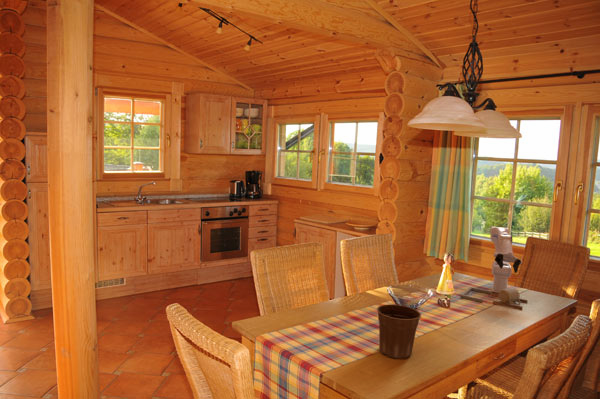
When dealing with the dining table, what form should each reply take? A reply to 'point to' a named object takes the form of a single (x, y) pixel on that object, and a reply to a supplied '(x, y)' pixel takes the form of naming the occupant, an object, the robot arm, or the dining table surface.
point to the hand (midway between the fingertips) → (508, 269)
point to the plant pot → (397, 330)
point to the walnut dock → (510, 304)
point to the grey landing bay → (474, 297)
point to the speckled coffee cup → (509, 296)
